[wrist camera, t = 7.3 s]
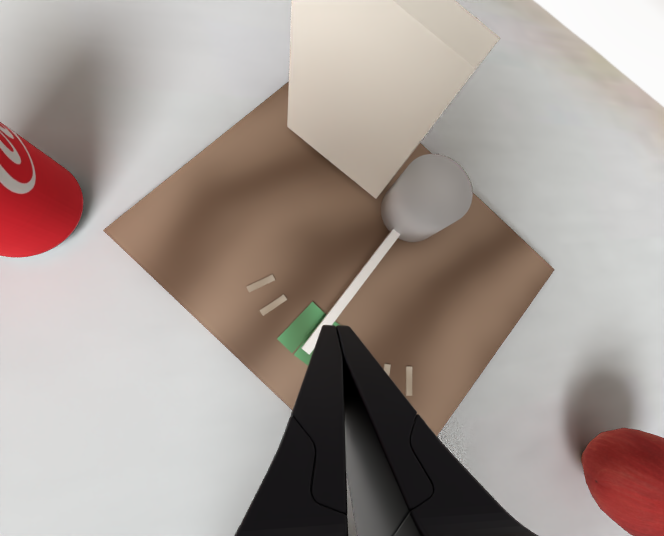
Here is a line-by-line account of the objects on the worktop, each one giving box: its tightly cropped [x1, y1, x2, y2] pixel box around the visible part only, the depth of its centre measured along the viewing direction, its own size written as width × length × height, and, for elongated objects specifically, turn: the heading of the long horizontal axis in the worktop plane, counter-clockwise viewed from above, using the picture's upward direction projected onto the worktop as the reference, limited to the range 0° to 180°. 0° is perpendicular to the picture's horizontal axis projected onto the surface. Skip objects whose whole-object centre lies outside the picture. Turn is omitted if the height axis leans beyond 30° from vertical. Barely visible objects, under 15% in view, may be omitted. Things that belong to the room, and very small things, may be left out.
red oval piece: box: [581, 428, 664, 536], centre depth 18 cm, size 6×6×8 cm
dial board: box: [103, 82, 554, 436], centre depth 21 cm, size 24×20×1 cm
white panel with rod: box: [287, 0, 500, 355], centre depth 15 cm, size 13×14×12 cm
